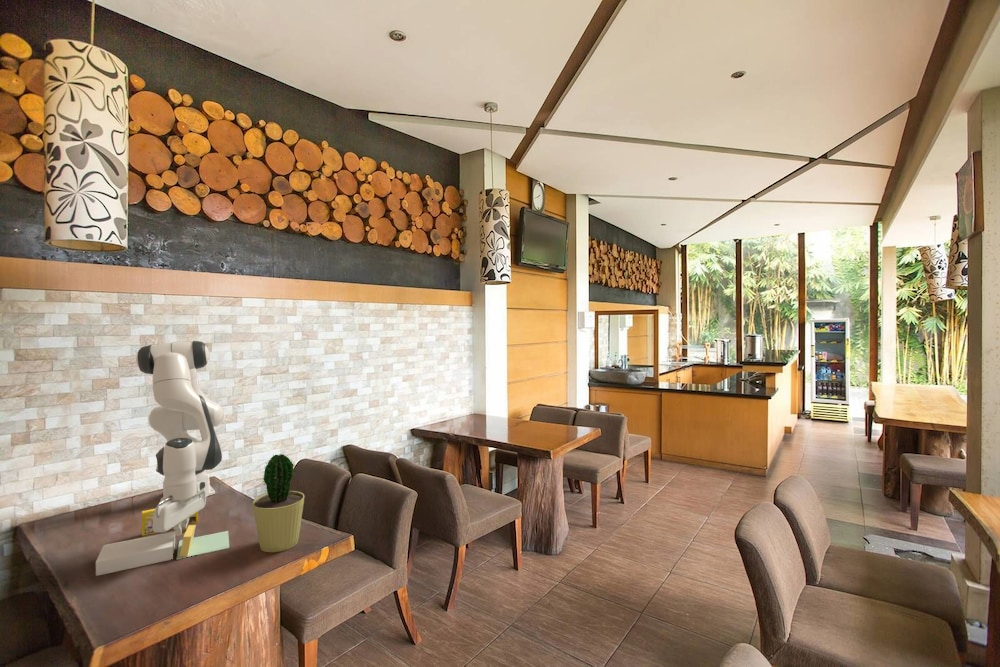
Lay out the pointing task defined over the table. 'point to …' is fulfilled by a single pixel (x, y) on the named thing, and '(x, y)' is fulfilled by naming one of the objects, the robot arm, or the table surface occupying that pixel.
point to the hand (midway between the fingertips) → (181, 533)
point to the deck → (135, 553)
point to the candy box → (148, 521)
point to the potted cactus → (278, 507)
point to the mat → (206, 544)
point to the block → (187, 540)
